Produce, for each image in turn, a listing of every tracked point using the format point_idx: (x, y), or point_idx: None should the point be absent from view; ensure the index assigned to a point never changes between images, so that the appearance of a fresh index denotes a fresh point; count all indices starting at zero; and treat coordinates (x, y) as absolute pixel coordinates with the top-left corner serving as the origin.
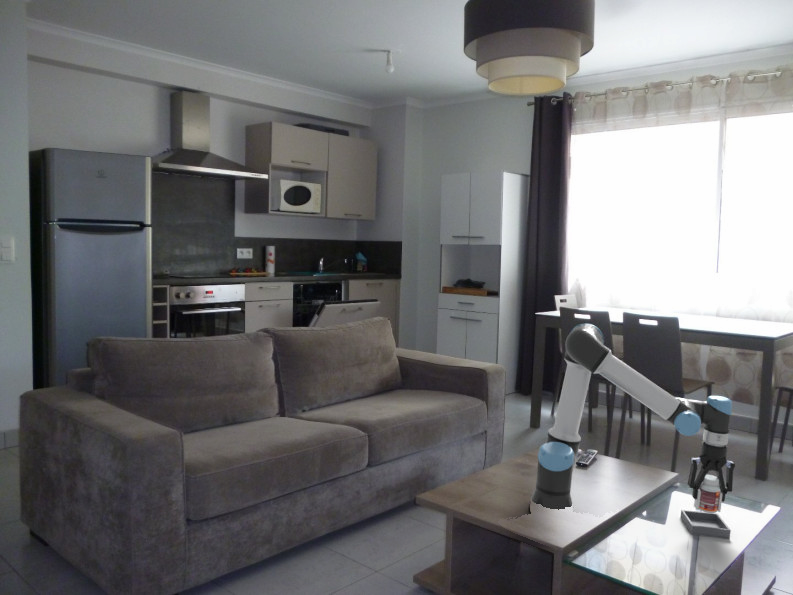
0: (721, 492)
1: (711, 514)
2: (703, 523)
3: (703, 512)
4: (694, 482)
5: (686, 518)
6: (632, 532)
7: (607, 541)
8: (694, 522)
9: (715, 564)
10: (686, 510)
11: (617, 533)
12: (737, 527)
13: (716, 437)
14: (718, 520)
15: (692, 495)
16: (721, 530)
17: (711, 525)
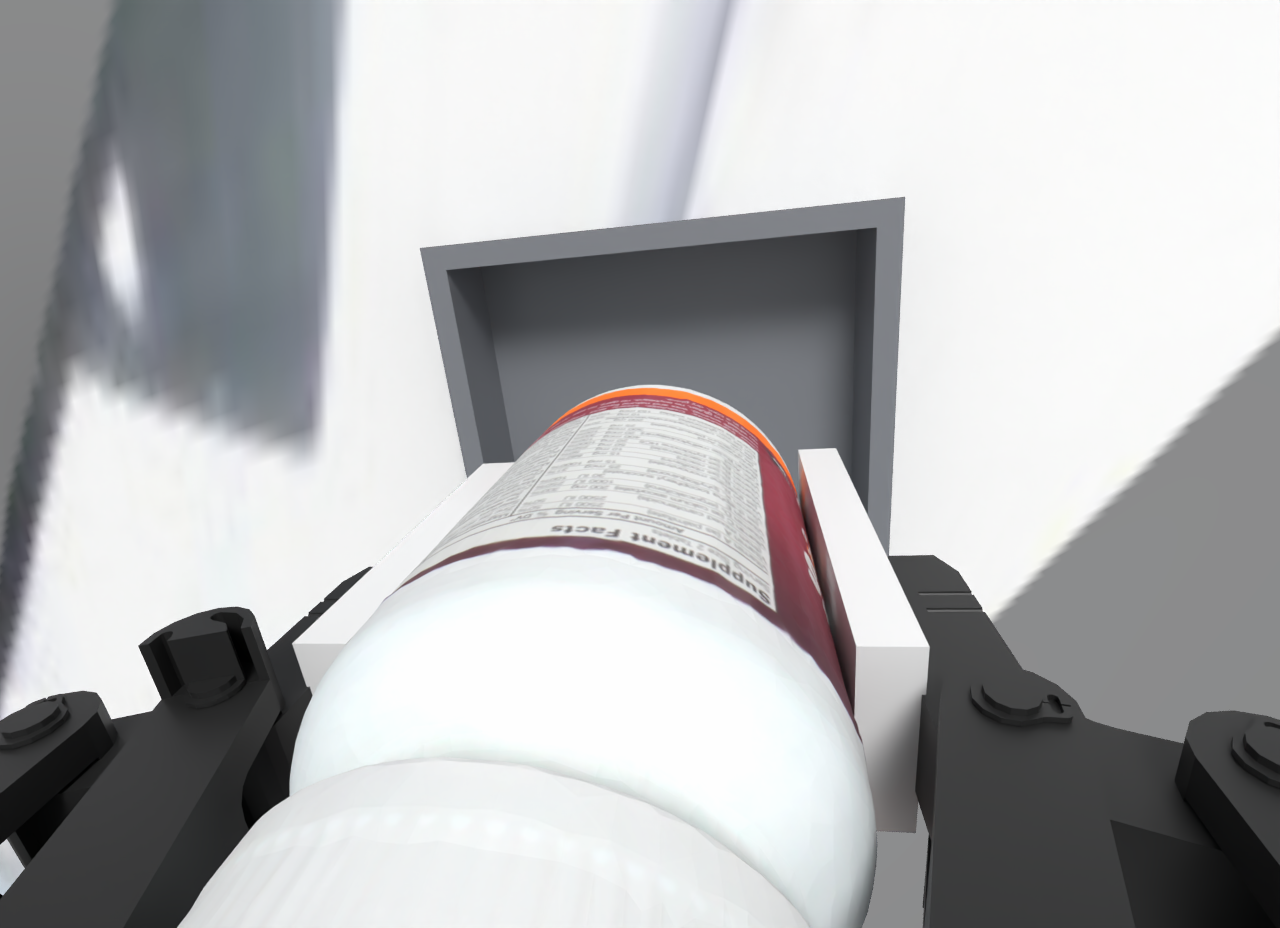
0: (908, 789)
1: (806, 233)
2: (681, 358)
3: (700, 229)
4: (108, 773)
5: (468, 453)
6: (112, 653)
7: None
8: (587, 363)
9: None
10: (481, 245)
11: (32, 687)
12: (1099, 280)
13: None
14: (864, 326)
15: (341, 593)
16: None
17: (761, 381)
